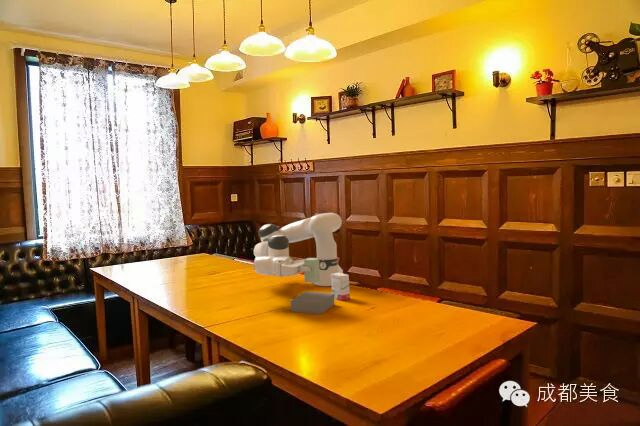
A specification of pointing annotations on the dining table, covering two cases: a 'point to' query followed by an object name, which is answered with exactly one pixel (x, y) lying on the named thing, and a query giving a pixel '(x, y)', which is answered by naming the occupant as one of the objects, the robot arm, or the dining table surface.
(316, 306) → the gray block
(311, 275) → the sage block
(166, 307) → the dining table surface
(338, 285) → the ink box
